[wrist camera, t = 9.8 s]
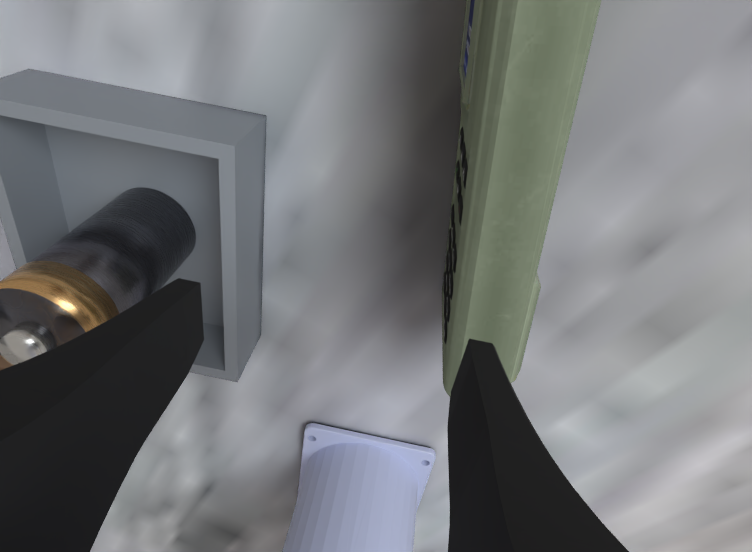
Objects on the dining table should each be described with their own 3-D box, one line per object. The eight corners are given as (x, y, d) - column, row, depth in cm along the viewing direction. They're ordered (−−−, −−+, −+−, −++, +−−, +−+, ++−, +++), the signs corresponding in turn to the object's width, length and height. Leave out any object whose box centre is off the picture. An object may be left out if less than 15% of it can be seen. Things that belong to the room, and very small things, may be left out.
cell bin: (261, 334, 28) (237, 382, 25) (82, 297, 28) (38, 339, 25) (266, 115, 21) (234, 145, 18) (28, 68, 21) (-40, 91, 18)
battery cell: (195, 274, 25) (86, 411, 18) (113, 251, 25) (-30, 380, 18) (198, 200, 23) (75, 323, 15) (109, 175, 23) (-59, 286, 15)
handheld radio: (432, 295, 25) (529, -660, 11) (501, 300, 25) (693, -668, 11) (431, 400, 20) (625, -1261, 5) (519, 407, 19) (970, -1310, 5)
